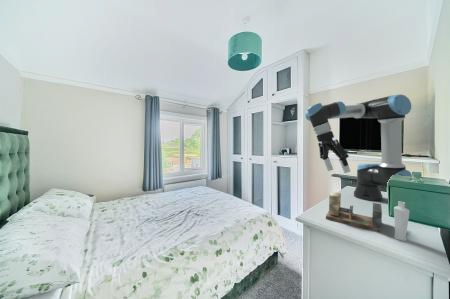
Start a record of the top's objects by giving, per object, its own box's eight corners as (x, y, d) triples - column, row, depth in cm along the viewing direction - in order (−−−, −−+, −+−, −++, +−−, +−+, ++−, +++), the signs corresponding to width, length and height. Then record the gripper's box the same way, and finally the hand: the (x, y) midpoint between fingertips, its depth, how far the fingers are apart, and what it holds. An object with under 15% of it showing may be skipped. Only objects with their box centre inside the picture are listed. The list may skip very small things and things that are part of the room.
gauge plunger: (329, 214, 89) (329, 195, 88) (331, 209, 94) (331, 191, 94) (347, 218, 84) (348, 198, 83) (349, 213, 89) (350, 194, 88)
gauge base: (325, 218, 88) (326, 201, 87) (330, 211, 97) (330, 195, 96) (381, 232, 74) (381, 212, 73) (380, 222, 83) (381, 204, 82)
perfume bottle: (399, 234, 72) (400, 199, 71) (410, 240, 68) (412, 203, 67) (388, 235, 72) (390, 200, 71) (399, 241, 68) (401, 204, 67)
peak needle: (348, 219, 82) (348, 210, 81) (350, 213, 88) (350, 205, 88) (351, 220, 81) (351, 211, 81) (352, 214, 88) (353, 205, 87)
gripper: (306, 138, 102) (318, 171, 101) (331, 131, 77) (348, 176, 76) (318, 133, 102) (330, 167, 101) (346, 125, 77) (364, 170, 76)
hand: (338, 171), depth 89 cm, fingers open, 13 cm apart
